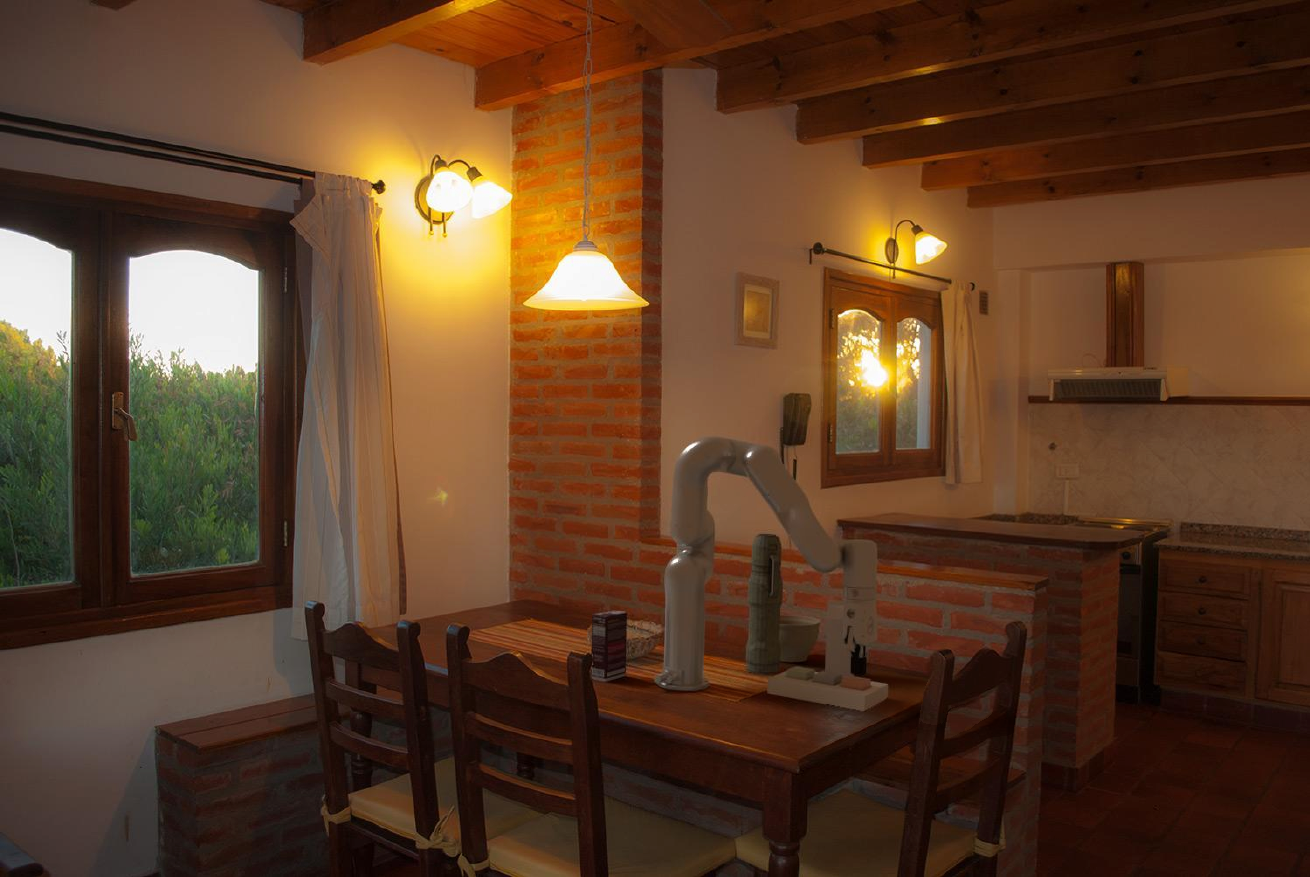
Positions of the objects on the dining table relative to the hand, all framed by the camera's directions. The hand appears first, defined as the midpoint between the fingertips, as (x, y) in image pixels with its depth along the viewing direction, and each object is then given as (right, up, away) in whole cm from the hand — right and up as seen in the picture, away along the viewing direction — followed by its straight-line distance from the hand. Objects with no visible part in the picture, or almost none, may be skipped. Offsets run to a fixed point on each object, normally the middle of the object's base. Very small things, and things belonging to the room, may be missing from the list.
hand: (858, 673), depth 230 cm
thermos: (-19, -6, +28) cm, 34 cm away
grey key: (-6, -4, +4) cm, 8 cm away
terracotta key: (-1, -4, 0) cm, 4 cm away
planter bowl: (-10, -6, +43) cm, 45 cm away
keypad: (-6, -6, +4) cm, 10 cm away
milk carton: (0, -7, +26) cm, 26 cm away
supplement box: (-58, -5, +15) cm, 60 cm away
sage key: (-12, -3, +8) cm, 15 cm away
